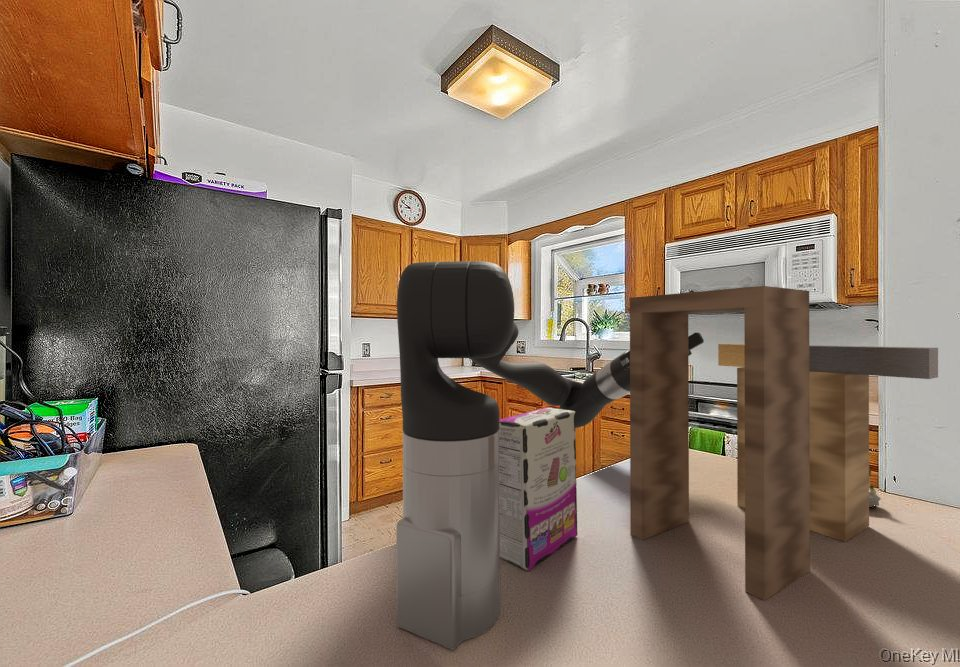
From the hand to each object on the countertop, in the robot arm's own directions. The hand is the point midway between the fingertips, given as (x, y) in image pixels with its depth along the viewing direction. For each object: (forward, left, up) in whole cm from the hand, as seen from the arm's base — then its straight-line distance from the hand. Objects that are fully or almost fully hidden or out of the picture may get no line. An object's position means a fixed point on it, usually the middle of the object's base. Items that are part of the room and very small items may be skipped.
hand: (686, 336), depth 75 cm
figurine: (0, -24, -26) cm, 35 cm away
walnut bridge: (-26, -4, -26) cm, 36 cm away
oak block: (-9, -15, -26) cm, 31 cm away
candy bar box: (-35, +15, -26) cm, 46 cm away
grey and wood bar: (-9, -16, -5) cm, 19 cm away
